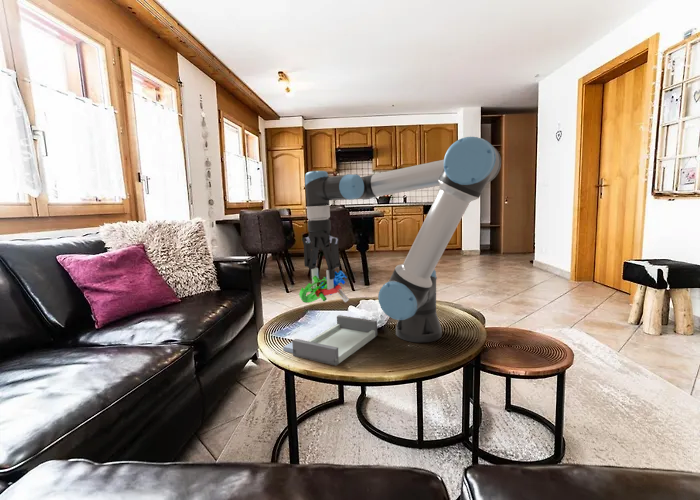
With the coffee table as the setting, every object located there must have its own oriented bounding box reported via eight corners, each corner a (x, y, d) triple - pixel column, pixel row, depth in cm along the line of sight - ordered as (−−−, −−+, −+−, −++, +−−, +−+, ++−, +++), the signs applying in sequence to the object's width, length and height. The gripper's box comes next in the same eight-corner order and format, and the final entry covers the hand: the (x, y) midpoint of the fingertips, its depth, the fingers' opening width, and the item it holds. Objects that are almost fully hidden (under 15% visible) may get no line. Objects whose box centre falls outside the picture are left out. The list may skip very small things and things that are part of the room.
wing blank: (298, 344, 116) (297, 338, 116) (307, 347, 114) (307, 341, 114) (283, 352, 110) (283, 346, 110) (293, 355, 108) (293, 349, 108)
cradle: (377, 335, 121) (376, 320, 121) (335, 366, 99) (335, 349, 98) (339, 328, 129) (338, 315, 128) (293, 356, 107) (292, 340, 106)
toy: (334, 291, 134) (347, 268, 129) (349, 309, 130) (364, 287, 124) (292, 300, 120) (305, 275, 114) (307, 321, 115) (322, 296, 110)
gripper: (348, 217, 117) (352, 287, 120) (304, 219, 127) (308, 283, 130) (335, 219, 111) (339, 292, 114) (290, 220, 120) (294, 288, 123)
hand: (323, 287), depth 122 cm, fingers closed on toy, 5 cm apart
